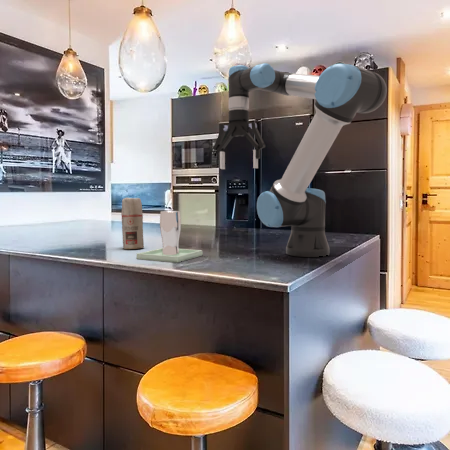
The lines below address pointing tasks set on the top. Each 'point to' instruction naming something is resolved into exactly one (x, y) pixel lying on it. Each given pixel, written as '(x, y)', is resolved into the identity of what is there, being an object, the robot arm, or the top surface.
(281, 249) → the top surface
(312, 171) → the robot arm
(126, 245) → the spray can
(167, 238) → the beer glass
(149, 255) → the tray
